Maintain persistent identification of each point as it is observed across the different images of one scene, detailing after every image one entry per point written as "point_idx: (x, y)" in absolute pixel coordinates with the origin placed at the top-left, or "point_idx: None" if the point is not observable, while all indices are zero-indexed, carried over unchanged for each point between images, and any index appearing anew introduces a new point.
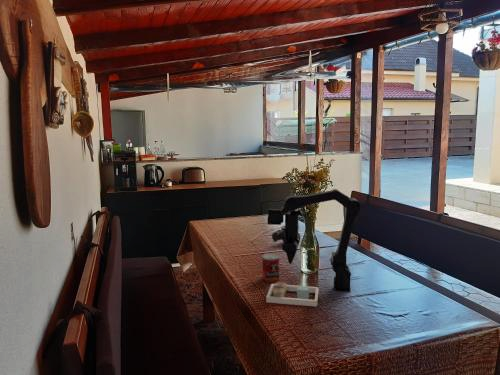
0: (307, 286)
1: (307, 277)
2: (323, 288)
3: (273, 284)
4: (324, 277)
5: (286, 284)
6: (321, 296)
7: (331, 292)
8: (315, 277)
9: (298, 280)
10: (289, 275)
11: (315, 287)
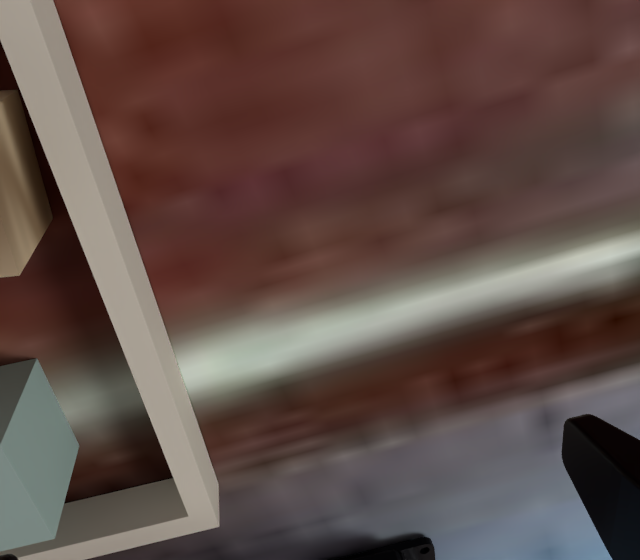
0: (37, 532)
1: (576, 296)
2: (326, 489)
3: (12, 20)
4: None
5: (19, 267)
6: None
7: (262, 554)
8: (585, 361)
9: (470, 236)
10: (622, 80)
11: (200, 509)
